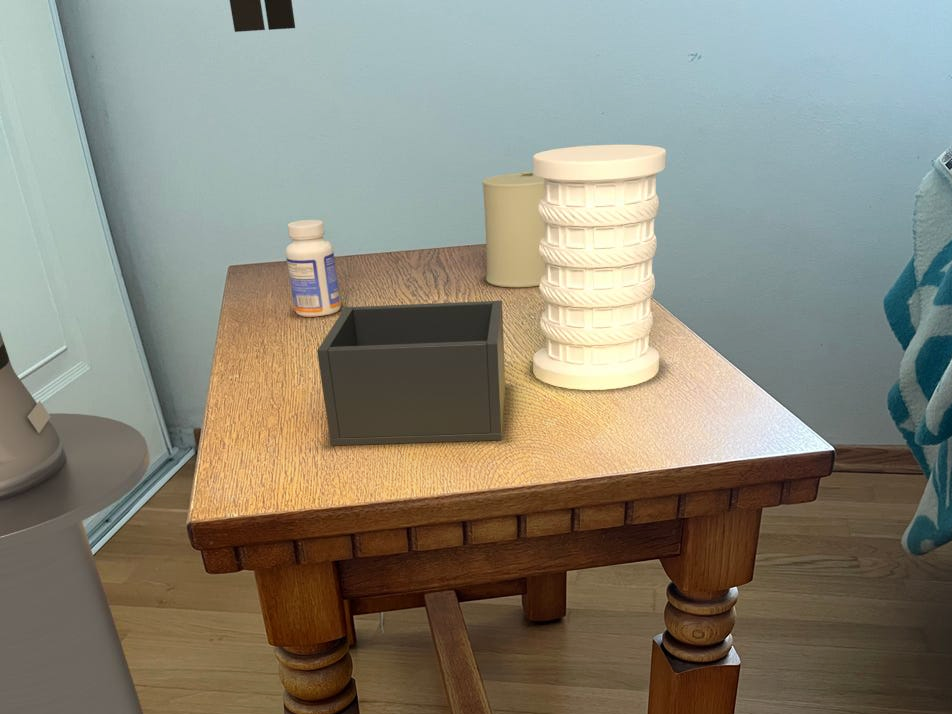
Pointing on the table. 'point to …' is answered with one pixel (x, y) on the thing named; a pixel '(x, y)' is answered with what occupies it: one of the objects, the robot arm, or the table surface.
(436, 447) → the table surface
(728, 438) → the table surface
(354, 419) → the bin
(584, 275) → the decorative container
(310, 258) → the pill bottle
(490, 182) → the can
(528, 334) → the table surface
